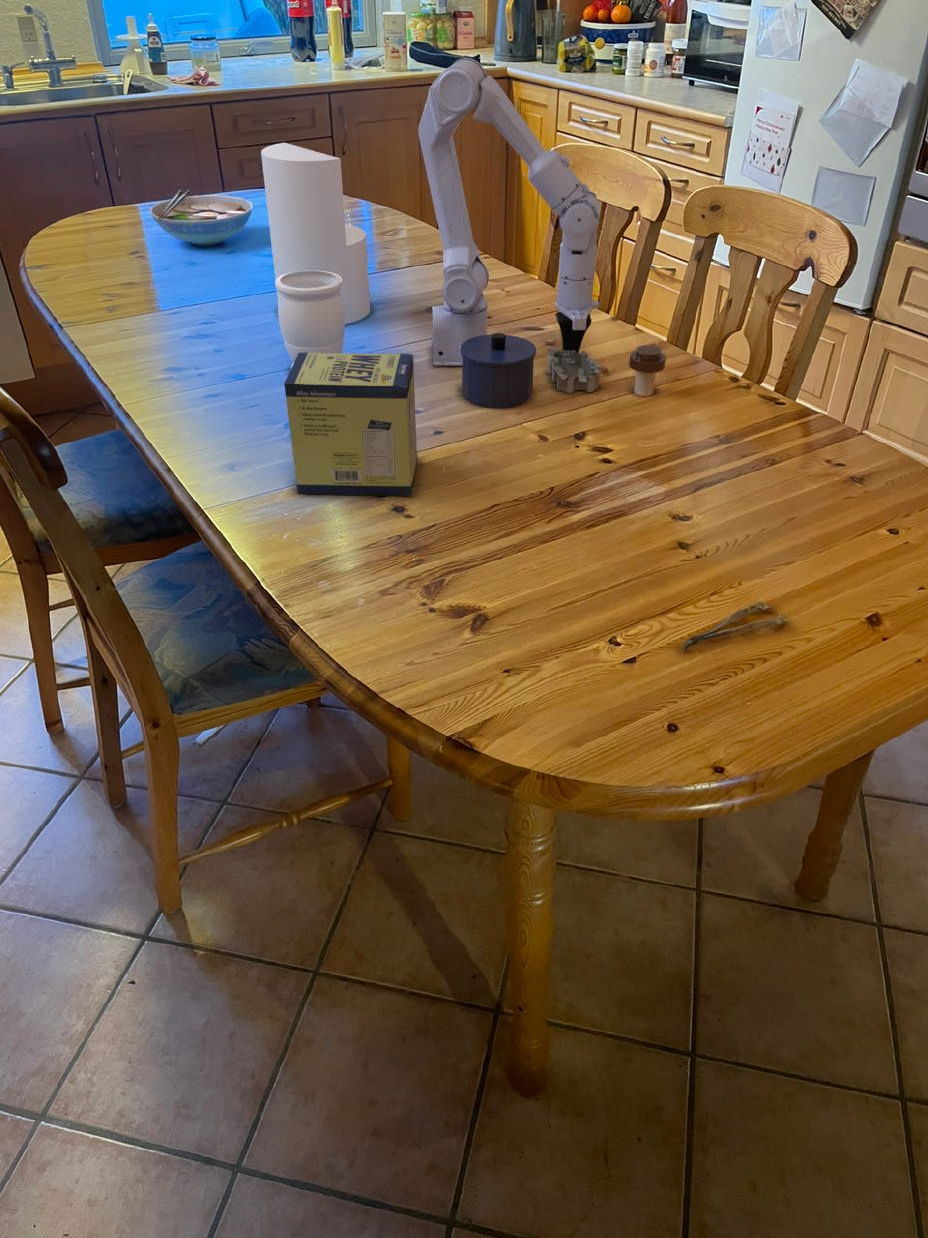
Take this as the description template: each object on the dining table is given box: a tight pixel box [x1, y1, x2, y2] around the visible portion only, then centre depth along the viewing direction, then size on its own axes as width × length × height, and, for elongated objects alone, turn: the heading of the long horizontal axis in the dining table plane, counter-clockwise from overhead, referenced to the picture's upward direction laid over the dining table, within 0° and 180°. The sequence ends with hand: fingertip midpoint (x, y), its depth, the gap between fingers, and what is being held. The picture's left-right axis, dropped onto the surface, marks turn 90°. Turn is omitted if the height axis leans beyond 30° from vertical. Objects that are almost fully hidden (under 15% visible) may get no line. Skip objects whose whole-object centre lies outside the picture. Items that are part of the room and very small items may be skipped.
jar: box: [274, 270, 346, 369], centre depth 154 cm, size 11×10×15 cm
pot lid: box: [460, 332, 537, 366], centre depth 146 cm, size 12×12×3 cm
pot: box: [461, 356, 535, 409], centre depth 149 cm, size 11×11×7 cm
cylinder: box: [260, 142, 371, 325], centre depth 173 cm, size 17×17×28 cm
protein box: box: [283, 352, 418, 497], centre depth 124 cm, size 10×16×16 cm
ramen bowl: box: [149, 189, 253, 247], centre depth 215 cm, size 25×23×8 cm
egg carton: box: [547, 347, 602, 394], centre depth 154 cm, size 11×8×4 cm
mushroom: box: [628, 345, 667, 397], centre depth 150 cm, size 6×6×7 cm
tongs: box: [682, 601, 788, 652], centre depth 101 cm, size 4×13×2 cm, turn 123°
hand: (570, 357), depth 160 cm, fingers closed
